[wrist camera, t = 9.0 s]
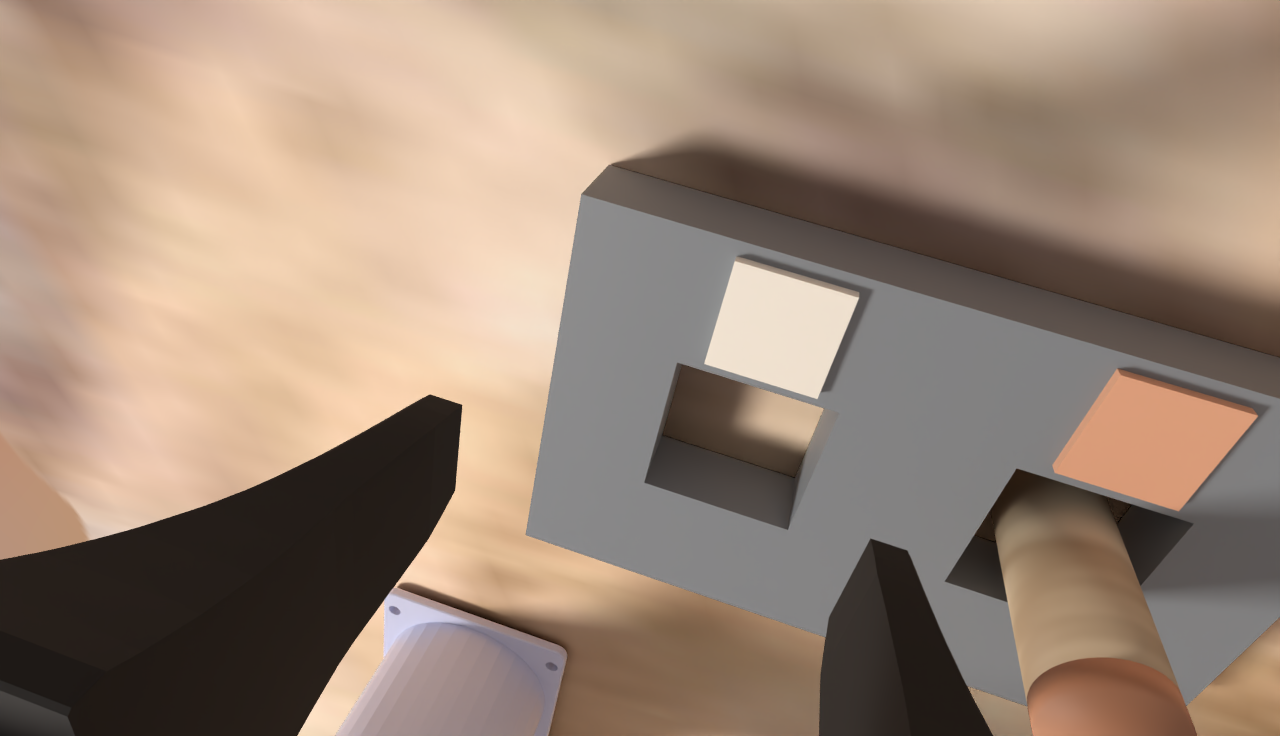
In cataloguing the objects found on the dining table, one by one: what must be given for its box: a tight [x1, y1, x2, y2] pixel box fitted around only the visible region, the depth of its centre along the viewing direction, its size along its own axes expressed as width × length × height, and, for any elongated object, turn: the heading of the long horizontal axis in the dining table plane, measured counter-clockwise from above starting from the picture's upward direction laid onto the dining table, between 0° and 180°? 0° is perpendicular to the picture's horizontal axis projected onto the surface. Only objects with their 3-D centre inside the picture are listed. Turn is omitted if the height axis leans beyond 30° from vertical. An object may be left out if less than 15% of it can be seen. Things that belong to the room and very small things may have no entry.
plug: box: [990, 469, 1197, 736], centre depth 19 cm, size 3×3×8 cm
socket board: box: [526, 165, 1280, 706], centre depth 22 cm, size 12×20×3 cm, turn 78°
